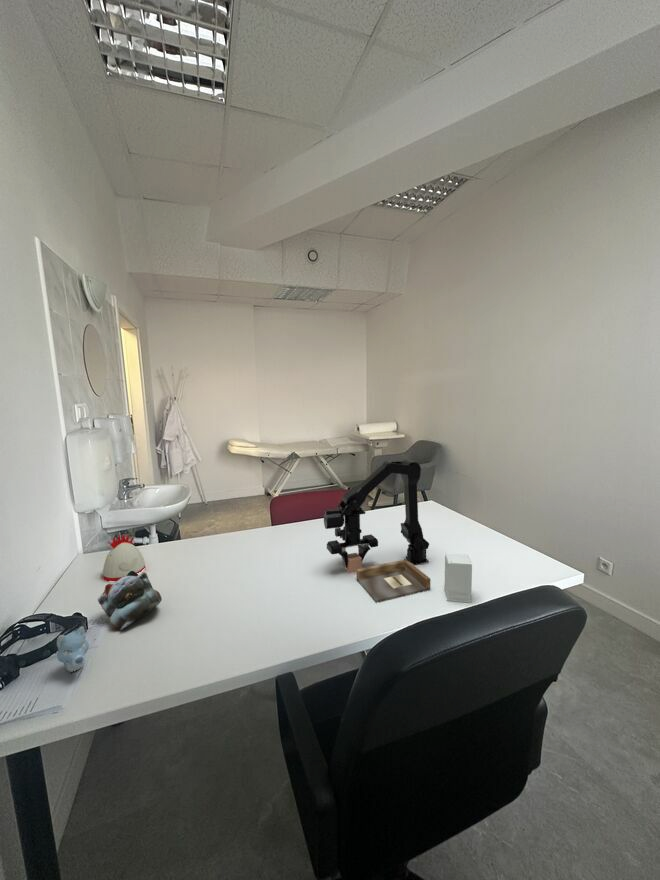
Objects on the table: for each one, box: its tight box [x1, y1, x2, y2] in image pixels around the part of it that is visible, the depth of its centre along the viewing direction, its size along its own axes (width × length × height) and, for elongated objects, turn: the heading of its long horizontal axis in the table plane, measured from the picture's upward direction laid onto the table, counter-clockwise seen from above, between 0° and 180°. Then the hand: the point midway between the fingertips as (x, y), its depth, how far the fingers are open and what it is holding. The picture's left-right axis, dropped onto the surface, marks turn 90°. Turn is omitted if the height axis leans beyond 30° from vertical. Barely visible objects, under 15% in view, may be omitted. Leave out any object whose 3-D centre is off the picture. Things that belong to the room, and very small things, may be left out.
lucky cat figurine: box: [97, 571, 162, 632], centre depth 108 cm, size 15×12×14 cm
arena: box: [356, 559, 431, 604], centre depth 122 cm, size 20×15×4 cm
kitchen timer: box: [102, 533, 146, 582], centre depth 135 cm, size 14×14×15 cm
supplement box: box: [443, 552, 473, 604], centre depth 114 cm, size 7×7×13 cm
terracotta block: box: [343, 552, 363, 574], centre depth 134 cm, size 5×5×5 cm
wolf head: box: [56, 625, 90, 673], centre depth 86 cm, size 6×9×10 cm
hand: (352, 565), depth 134 cm, fingers closed on terracotta block, 5 cm apart
